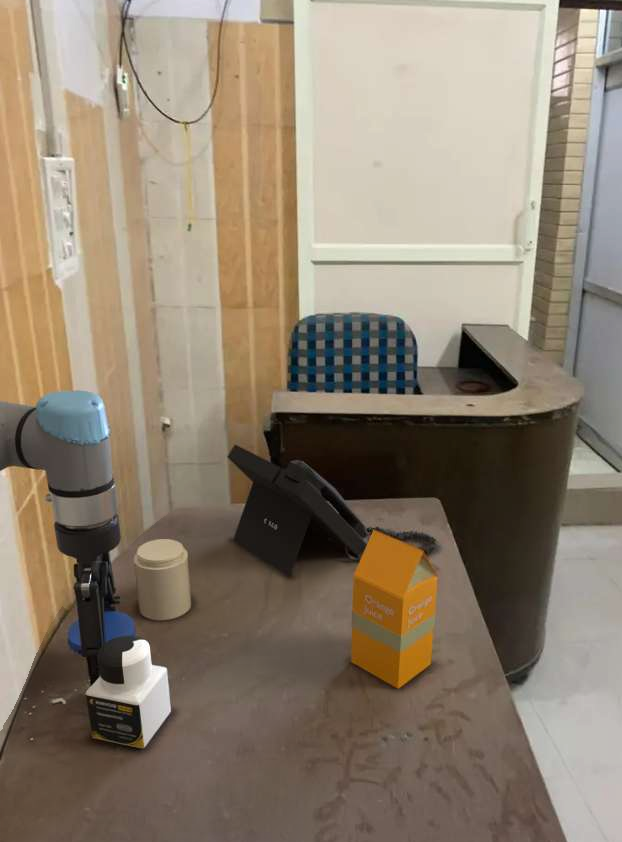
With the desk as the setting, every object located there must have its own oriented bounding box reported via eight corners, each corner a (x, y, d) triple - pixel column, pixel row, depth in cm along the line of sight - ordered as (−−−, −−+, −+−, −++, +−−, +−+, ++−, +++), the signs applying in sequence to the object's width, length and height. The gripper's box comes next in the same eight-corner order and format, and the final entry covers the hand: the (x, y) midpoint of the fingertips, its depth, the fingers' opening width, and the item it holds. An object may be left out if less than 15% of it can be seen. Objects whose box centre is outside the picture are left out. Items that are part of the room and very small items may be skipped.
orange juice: (397, 689, 104) (405, 561, 95) (349, 661, 109) (353, 538, 101) (432, 663, 109) (441, 540, 101) (384, 638, 114) (390, 519, 106)
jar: (137, 622, 116) (130, 564, 112) (140, 594, 123) (134, 539, 119) (191, 617, 117) (186, 560, 113) (191, 590, 125) (187, 535, 120)
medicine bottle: (90, 739, 93) (78, 658, 88) (122, 701, 99) (112, 624, 95) (143, 750, 92) (134, 669, 87) (172, 711, 98) (164, 634, 93)
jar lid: (146, 625, 104) (145, 615, 103) (115, 661, 96) (113, 651, 96) (91, 616, 105) (89, 606, 105) (55, 651, 98) (53, 641, 97)
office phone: (445, 549, 141) (453, 447, 132) (325, 601, 123) (326, 488, 115) (343, 497, 160) (344, 405, 152) (227, 536, 142) (222, 434, 134)
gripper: (66, 484, 102) (87, 626, 111) (37, 561, 84) (64, 723, 93) (125, 481, 104) (140, 621, 113) (109, 556, 85) (128, 716, 94)
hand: (106, 667), depth 103 cm, fingers closed on jar lid, 8 cm apart
